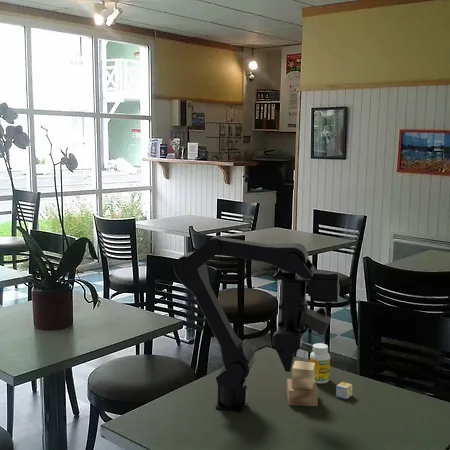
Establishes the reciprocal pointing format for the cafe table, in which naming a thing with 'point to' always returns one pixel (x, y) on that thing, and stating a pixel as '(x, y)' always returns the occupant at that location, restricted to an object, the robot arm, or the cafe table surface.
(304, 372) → the maple cube
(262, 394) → the cafe table surface
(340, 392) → the alphabet block
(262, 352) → the cafe table surface
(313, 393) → the walnut base block
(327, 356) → the supplement bottle
